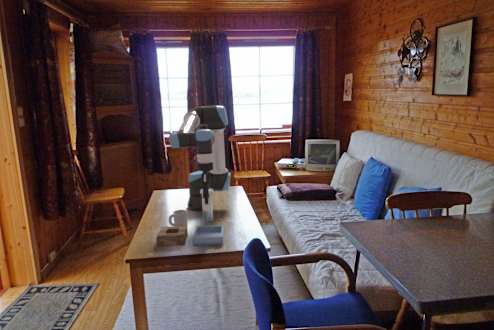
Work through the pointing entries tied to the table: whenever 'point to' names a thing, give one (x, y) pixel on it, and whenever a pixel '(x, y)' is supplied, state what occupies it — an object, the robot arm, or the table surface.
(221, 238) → the tray
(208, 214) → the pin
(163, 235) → the socket block
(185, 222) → the cup
